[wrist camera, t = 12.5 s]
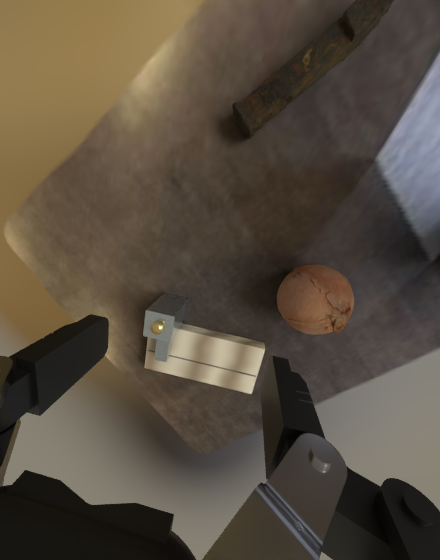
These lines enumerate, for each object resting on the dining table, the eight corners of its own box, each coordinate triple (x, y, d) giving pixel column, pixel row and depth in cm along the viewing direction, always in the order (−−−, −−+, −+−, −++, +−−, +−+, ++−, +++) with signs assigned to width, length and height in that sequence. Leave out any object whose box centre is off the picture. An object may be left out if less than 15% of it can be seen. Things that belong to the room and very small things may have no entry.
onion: (322, 288, 35) (379, 324, 27) (274, 319, 35) (318, 366, 27) (309, 241, 30) (375, 268, 22) (254, 276, 30) (300, 318, 22)
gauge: (187, 298, 35) (172, 319, 28) (179, 349, 38) (163, 381, 31) (164, 292, 35) (143, 312, 28) (157, 344, 38) (136, 374, 31)
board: (263, 342, 36) (265, 349, 34) (251, 385, 38) (251, 394, 36) (154, 316, 37) (149, 322, 35) (149, 360, 39) (144, 368, 37)
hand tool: (246, 145, 29) (248, 131, 24) (231, 116, 28) (229, 96, 23) (392, 40, 24) (426, 0, 20) (378, 2, 24) (410, -48, 19)
